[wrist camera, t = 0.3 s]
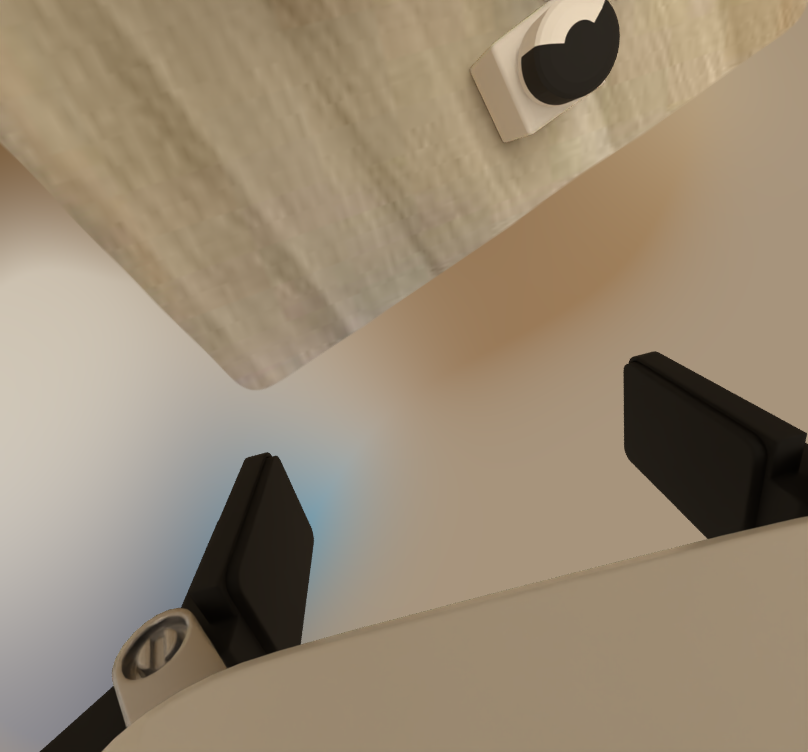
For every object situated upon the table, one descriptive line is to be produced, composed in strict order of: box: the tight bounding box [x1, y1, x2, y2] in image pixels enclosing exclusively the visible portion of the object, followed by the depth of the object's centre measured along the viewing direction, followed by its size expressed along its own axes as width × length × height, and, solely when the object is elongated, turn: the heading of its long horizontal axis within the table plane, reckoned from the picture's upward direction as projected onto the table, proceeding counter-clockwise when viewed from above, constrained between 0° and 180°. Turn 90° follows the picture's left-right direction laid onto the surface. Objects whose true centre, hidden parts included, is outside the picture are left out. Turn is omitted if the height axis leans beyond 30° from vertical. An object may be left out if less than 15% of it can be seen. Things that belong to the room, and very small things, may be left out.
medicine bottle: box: [470, 0, 620, 143], centre depth 33 cm, size 7×7×12 cm
